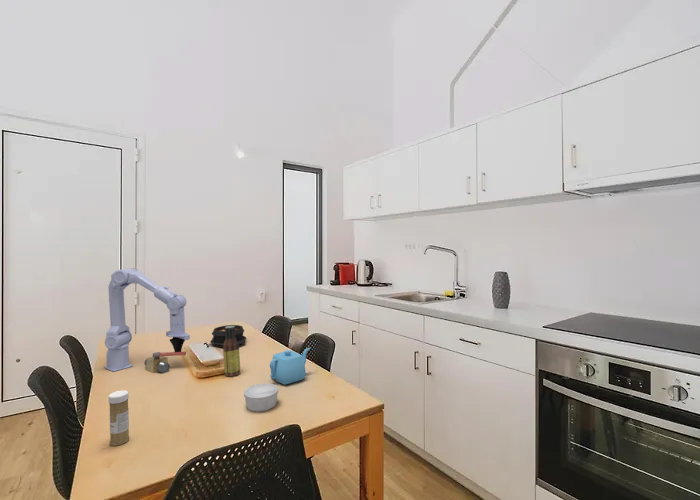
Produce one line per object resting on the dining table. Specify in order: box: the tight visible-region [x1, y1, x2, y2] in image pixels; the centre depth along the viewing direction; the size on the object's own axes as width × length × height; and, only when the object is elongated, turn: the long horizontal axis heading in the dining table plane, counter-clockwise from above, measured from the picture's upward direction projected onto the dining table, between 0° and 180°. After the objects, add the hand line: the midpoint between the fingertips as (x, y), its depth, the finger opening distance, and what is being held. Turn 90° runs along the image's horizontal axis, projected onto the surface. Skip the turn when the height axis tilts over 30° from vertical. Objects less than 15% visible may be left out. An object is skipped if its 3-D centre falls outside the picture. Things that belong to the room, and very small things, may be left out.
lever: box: [152, 351, 187, 357], centre depth 152 cm, size 3×14×1 cm, turn 95°
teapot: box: [269, 347, 311, 385], centre depth 139 cm, size 12×18×12 cm
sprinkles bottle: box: [108, 390, 130, 447], centre depth 96 cm, size 5×5×13 cm
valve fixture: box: [144, 356, 171, 374], centre depth 152 cm, size 14×6×6 cm, turn 55°
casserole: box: [209, 324, 247, 347], centre depth 191 cm, size 25×19×8 cm
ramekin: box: [243, 382, 279, 413], centre depth 116 cm, size 11×11×5 cm
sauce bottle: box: [222, 325, 241, 377], centre depth 144 cm, size 6×6×20 cm
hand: (178, 354), depth 155 cm, fingers closed, pressing on lever
